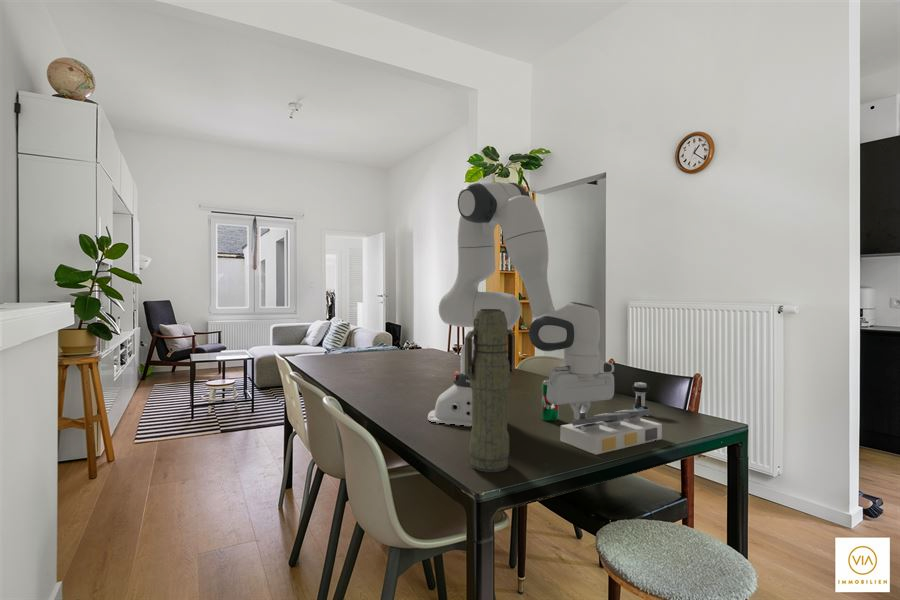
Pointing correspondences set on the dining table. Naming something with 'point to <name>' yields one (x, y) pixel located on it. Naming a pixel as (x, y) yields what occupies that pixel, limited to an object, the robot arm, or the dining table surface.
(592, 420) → the left rocker
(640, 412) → the right rocker
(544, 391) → the soda can
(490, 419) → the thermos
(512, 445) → the dining table surface
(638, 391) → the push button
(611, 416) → the middle rocker
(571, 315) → the robot arm
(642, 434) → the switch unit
